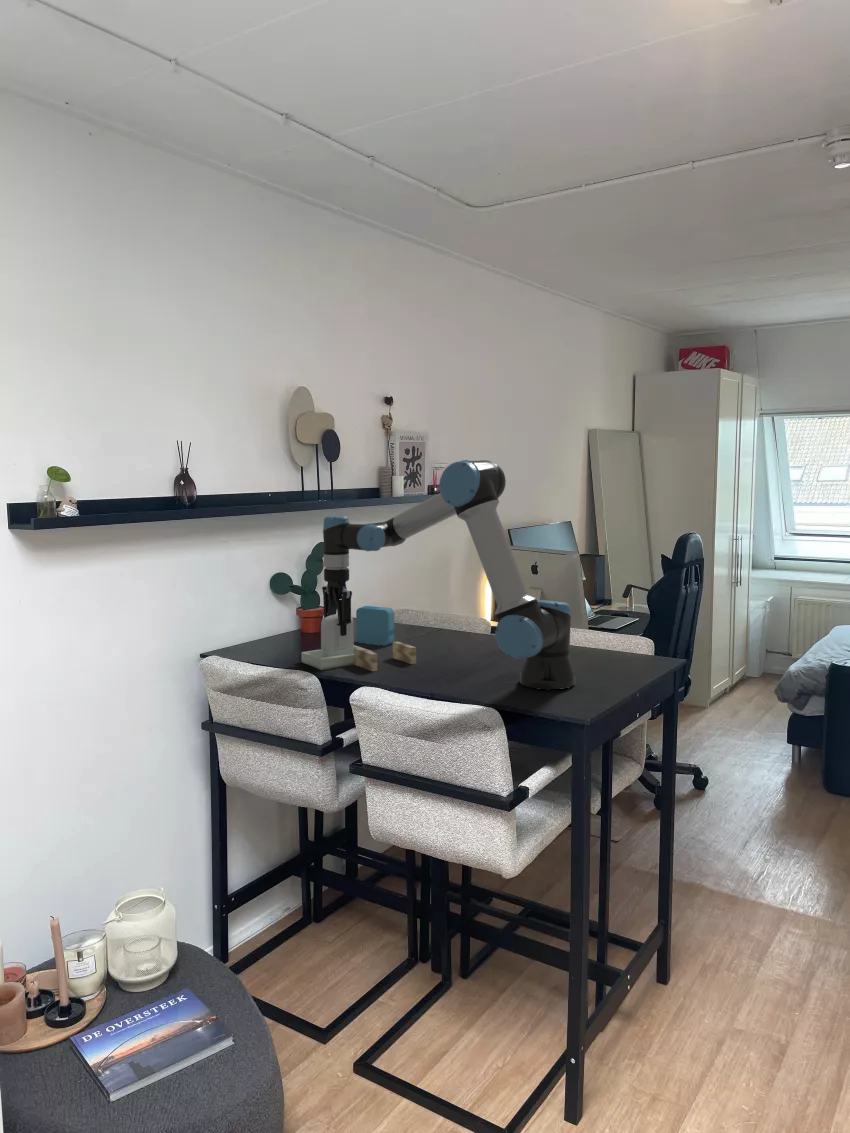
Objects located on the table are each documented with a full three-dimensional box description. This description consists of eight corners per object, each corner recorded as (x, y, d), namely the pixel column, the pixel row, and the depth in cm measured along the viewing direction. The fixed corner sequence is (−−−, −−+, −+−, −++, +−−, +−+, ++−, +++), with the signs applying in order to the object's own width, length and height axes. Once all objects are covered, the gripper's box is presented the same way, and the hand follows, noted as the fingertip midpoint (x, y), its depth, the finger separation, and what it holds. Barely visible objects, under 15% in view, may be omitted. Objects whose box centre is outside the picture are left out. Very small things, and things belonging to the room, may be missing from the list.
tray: (373, 661, 258) (373, 651, 258) (321, 670, 247) (321, 660, 247) (352, 653, 267) (352, 644, 267) (301, 662, 257) (301, 652, 256)
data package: (394, 643, 282) (394, 608, 280) (388, 646, 278) (388, 610, 276) (362, 640, 287) (362, 605, 285) (356, 643, 282) (355, 607, 281)
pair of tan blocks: (416, 663, 255) (416, 647, 255) (372, 671, 246) (372, 654, 245) (397, 657, 263) (397, 641, 262) (354, 664, 254) (354, 648, 253)
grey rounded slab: (349, 651, 262) (348, 611, 260) (356, 653, 258) (355, 613, 256) (319, 655, 256) (318, 615, 254) (325, 658, 252) (324, 617, 251)
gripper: (363, 570, 249) (363, 648, 252) (332, 563, 263) (333, 637, 266) (341, 572, 244) (342, 651, 247) (311, 565, 258) (312, 640, 261)
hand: (337, 644), depth 257 cm, fingers closed on grey rounded slab, 4 cm apart
